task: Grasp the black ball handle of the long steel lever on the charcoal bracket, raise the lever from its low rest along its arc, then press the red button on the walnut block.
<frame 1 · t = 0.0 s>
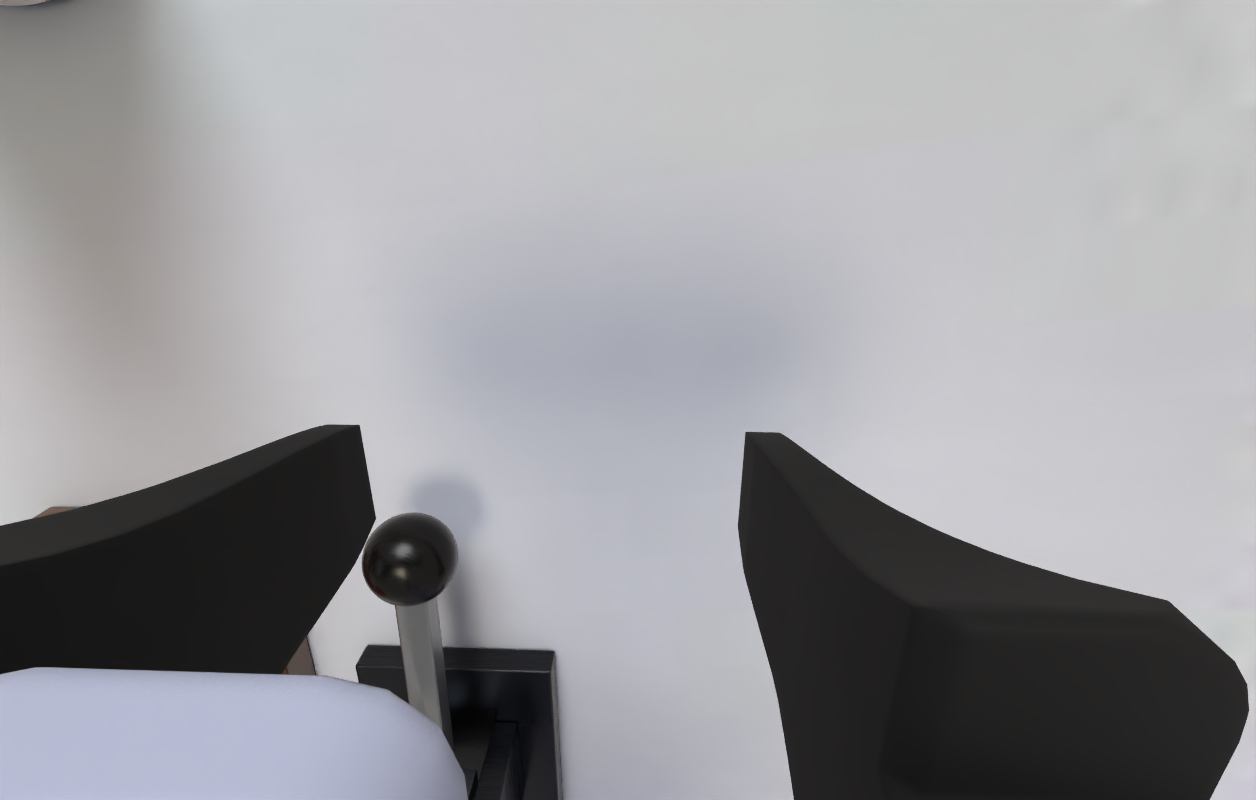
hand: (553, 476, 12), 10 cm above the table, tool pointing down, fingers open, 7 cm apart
lever: (429, 700, 23), point 4 cm above the table, hinge at -3.0°
bracket: (471, 732, 29), on the table
button block: (199, 621, 27), on the table
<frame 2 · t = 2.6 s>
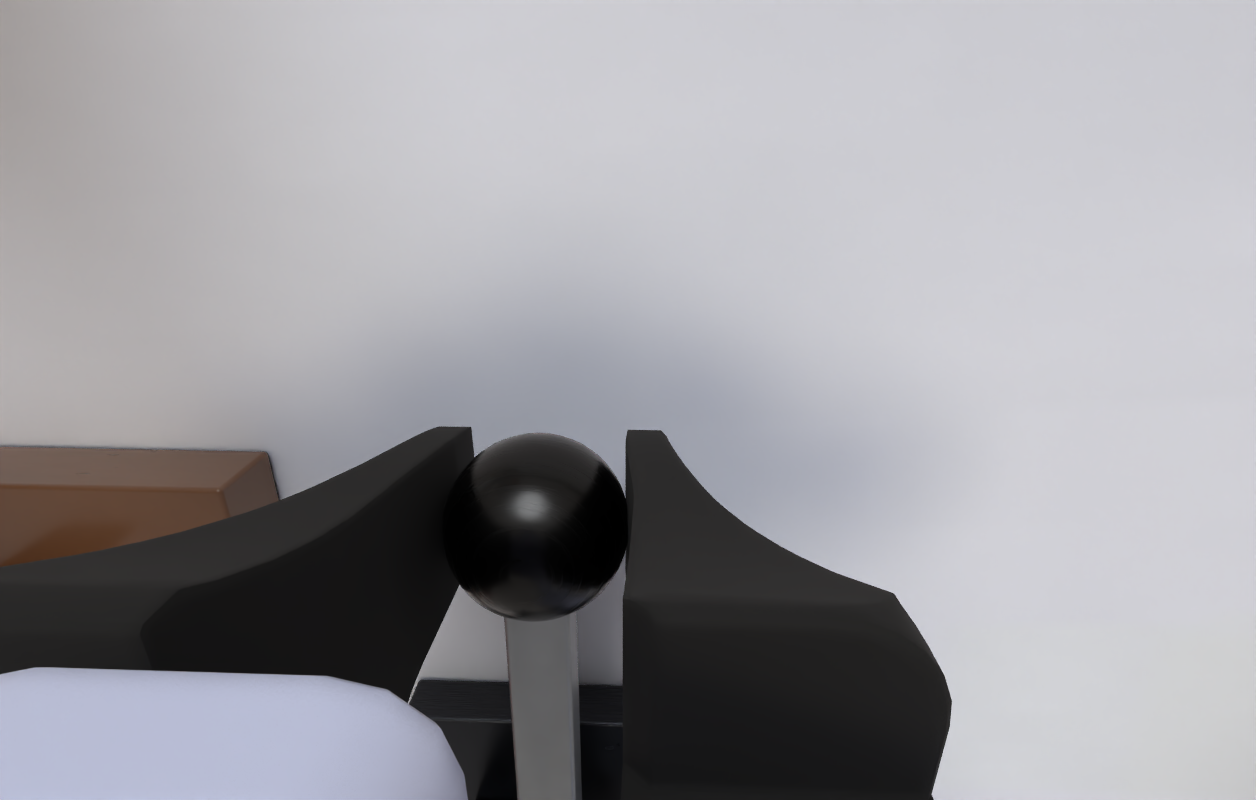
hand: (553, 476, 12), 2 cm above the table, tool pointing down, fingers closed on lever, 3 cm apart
lever: (550, 792, 12), point 4 cm above the table, hinge at -3.0°, touching gripper
button block: (141, 640, 16), on the table
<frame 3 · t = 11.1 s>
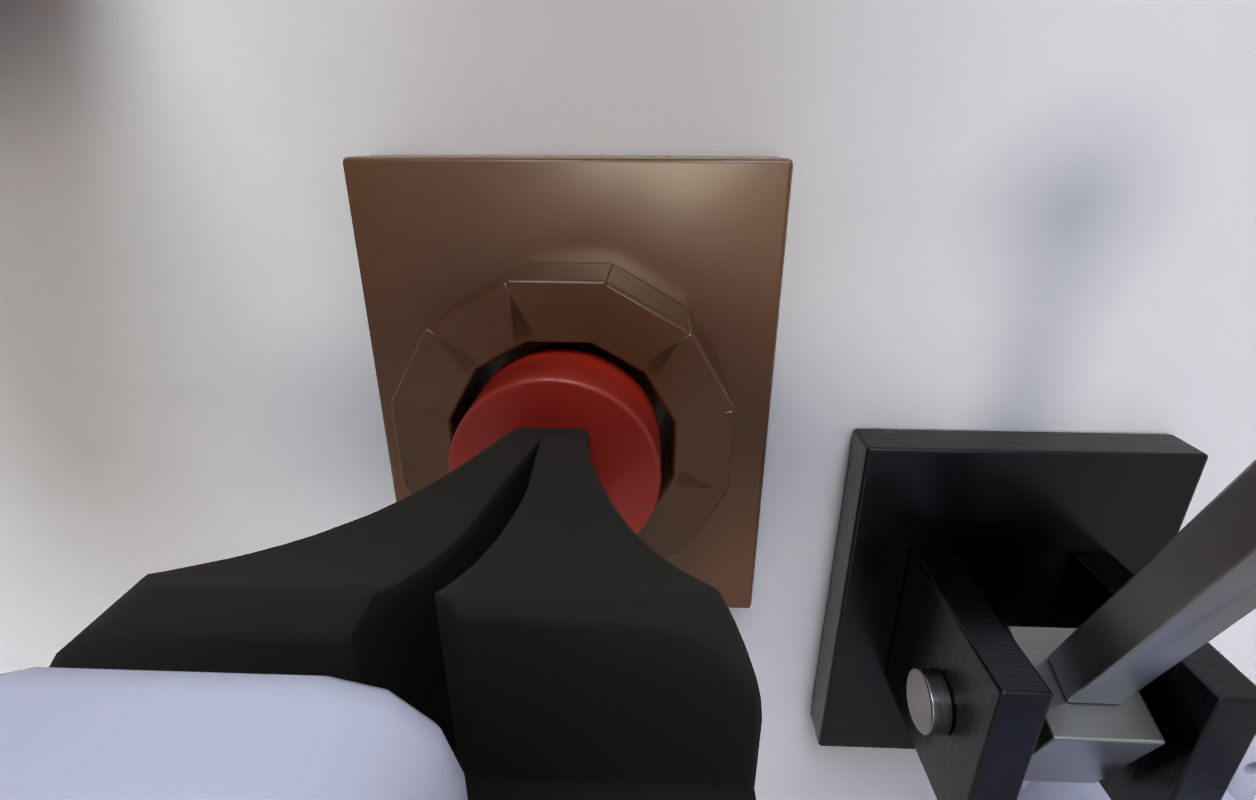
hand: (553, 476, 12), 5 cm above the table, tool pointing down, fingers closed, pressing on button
button: (560, 456, 13), point 4 cm above the table, slide at 0.0 cm, touching gripper
lever: (1224, 563, 10), point 6 cm above the table, hinge at 22.2°
bracket: (970, 589, 18), on the table
button block: (580, 386, 16), on the table
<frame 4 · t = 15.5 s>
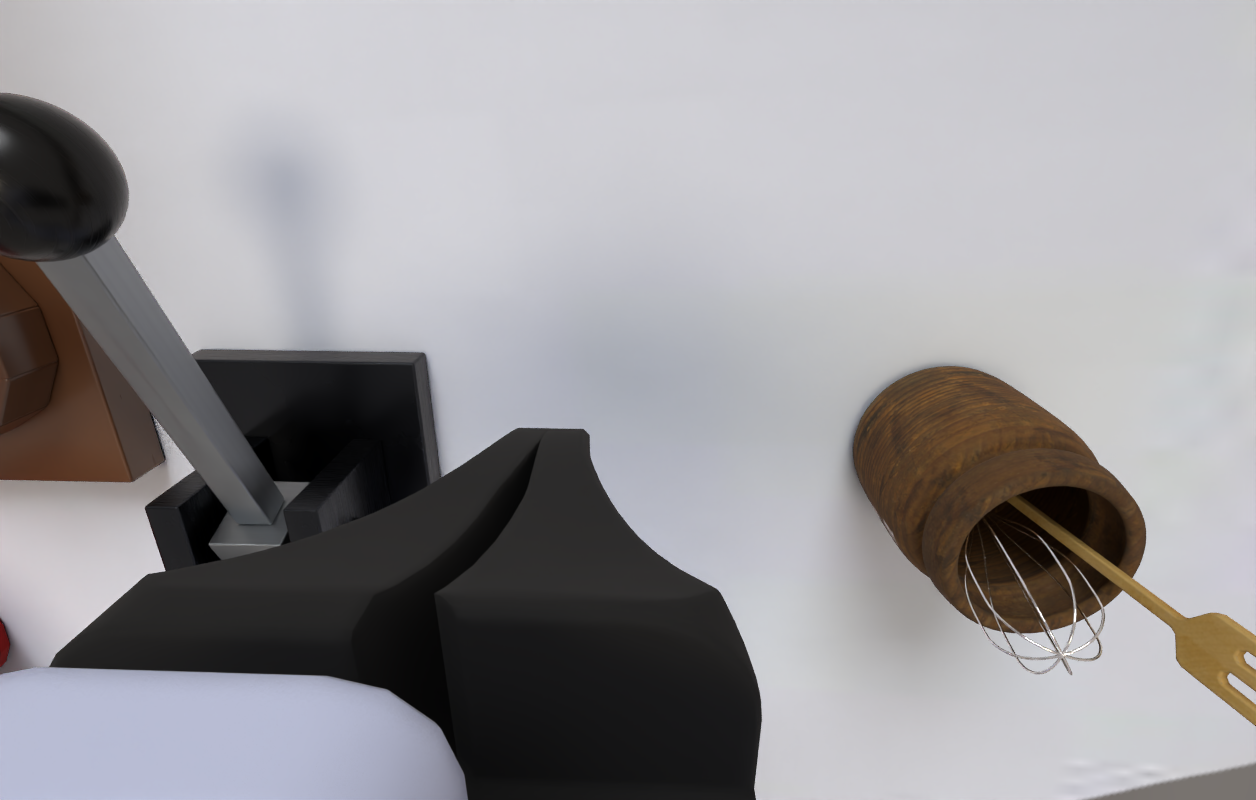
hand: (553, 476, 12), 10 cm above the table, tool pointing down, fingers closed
utensil holder: (933, 436, 23), on the table
lever: (185, 404, 16), point 6 cm above the table, hinge at 22.2°
bracket: (337, 476, 24), on the table
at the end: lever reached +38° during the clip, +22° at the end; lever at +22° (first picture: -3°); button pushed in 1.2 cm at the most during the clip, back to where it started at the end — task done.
